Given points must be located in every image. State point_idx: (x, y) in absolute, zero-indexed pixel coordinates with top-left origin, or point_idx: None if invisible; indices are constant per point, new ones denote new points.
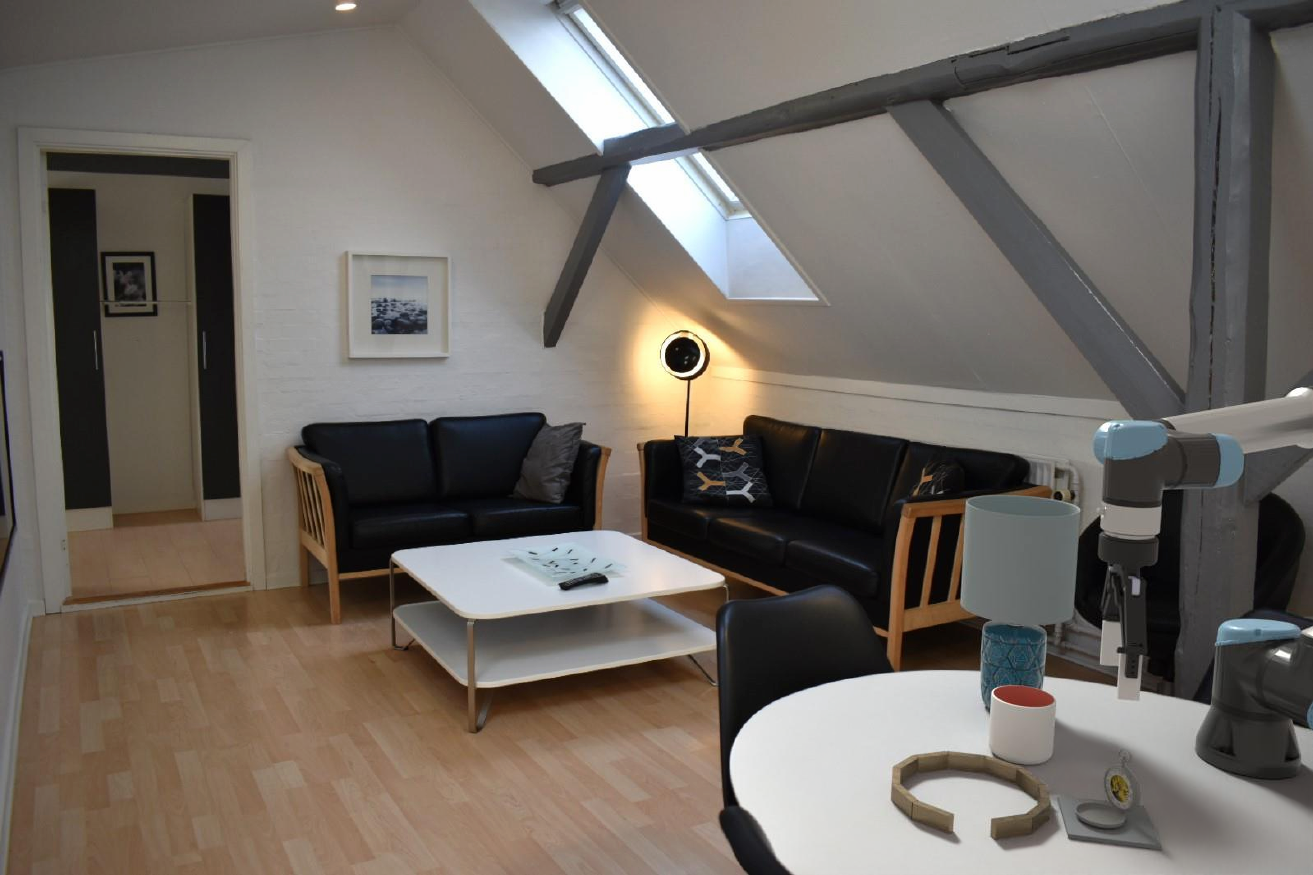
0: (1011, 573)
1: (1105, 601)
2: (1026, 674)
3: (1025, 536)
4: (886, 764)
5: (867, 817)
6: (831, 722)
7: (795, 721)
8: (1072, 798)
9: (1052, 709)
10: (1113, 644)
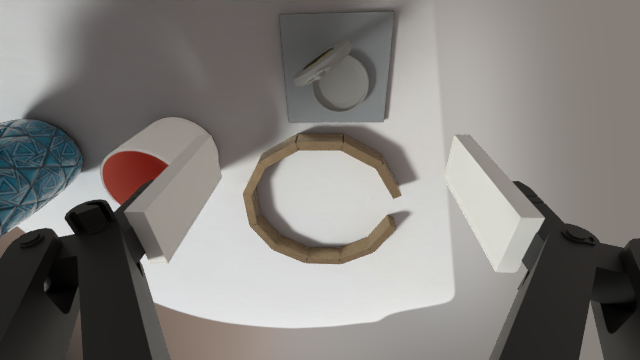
0: None
1: (71, 315)
2: (24, 165)
3: None
4: (272, 254)
5: (376, 265)
6: (206, 287)
7: (219, 305)
8: (292, 107)
9: (161, 151)
10: (191, 186)
